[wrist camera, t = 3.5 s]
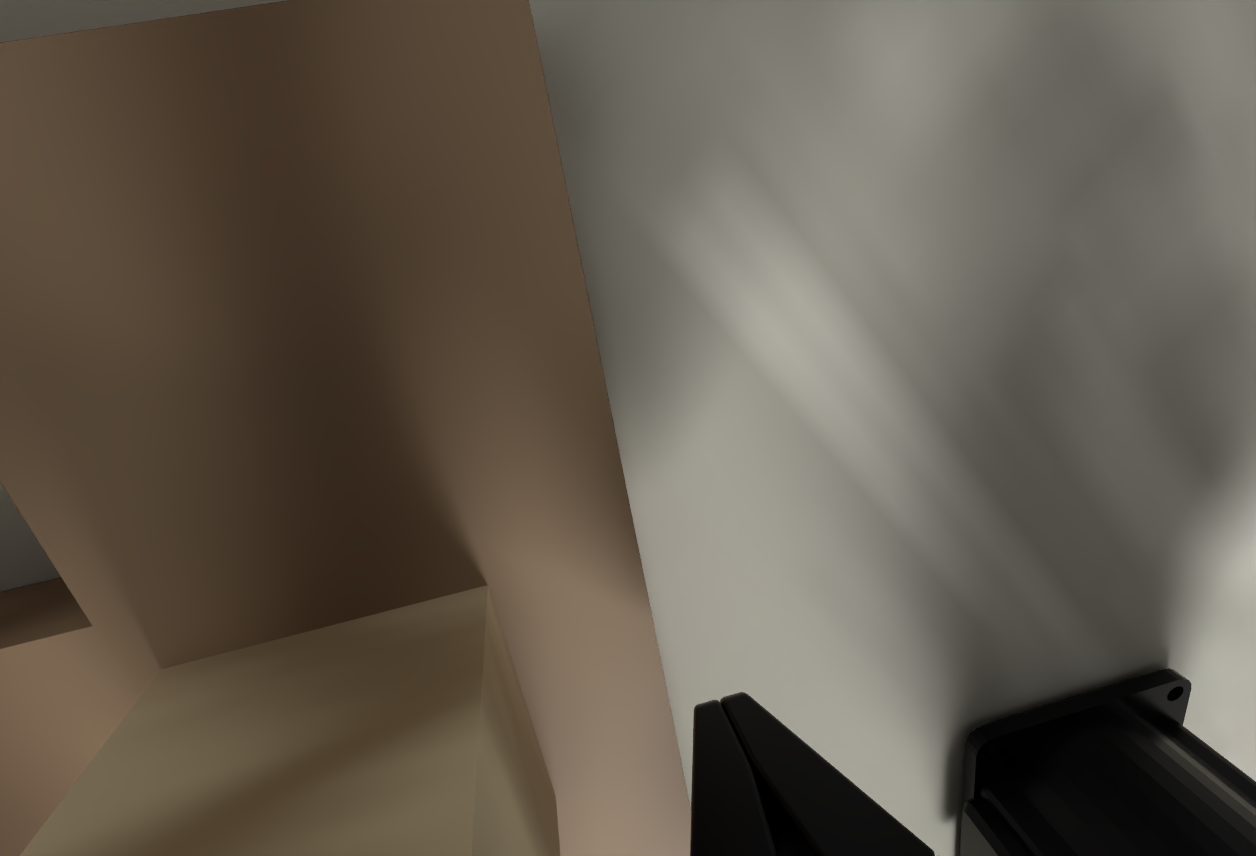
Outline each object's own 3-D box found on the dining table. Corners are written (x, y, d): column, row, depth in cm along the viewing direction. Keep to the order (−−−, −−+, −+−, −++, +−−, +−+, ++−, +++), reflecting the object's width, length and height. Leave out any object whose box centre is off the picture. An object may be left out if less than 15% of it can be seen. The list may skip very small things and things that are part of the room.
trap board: (519, 18, 9) (521, -34, 7) (702, 902, 16) (726, 989, 15) (-1263, 296, 7) (-1957, 330, 5) (-90, 1163, 14) (-178, 1303, 12)
